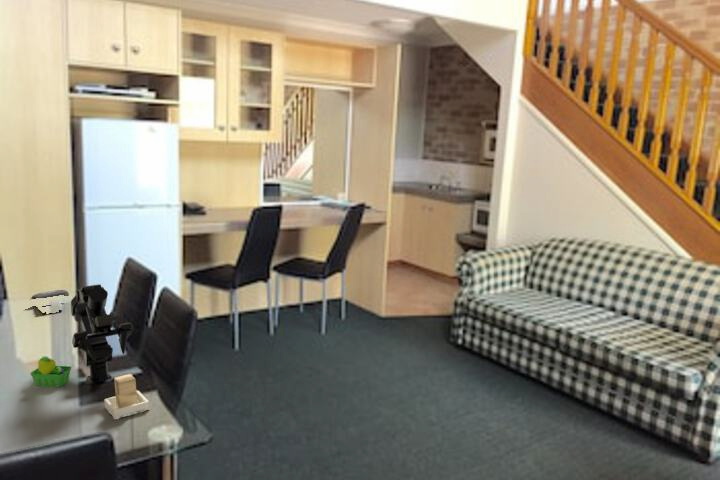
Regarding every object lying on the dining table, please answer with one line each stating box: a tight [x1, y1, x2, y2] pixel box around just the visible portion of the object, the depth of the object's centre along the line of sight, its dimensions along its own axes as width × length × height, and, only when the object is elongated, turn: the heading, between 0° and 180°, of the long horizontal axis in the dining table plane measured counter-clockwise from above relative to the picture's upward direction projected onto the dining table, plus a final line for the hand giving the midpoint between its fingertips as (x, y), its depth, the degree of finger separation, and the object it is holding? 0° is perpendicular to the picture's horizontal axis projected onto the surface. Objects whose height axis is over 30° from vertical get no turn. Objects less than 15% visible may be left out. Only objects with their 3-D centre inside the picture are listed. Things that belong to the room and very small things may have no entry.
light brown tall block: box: [113, 373, 137, 409], centre depth 187 cm, size 5×5×10 cm
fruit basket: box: [29, 356, 72, 388], centre depth 205 cm, size 11×9×11 cm
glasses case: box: [30, 289, 70, 300], centre depth 302 cm, size 18×10×8 cm, turn 136°
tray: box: [104, 389, 150, 419], centre depth 187 cm, size 11×11×3 cm
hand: (109, 356), depth 195 cm, fingers open, 9 cm apart
